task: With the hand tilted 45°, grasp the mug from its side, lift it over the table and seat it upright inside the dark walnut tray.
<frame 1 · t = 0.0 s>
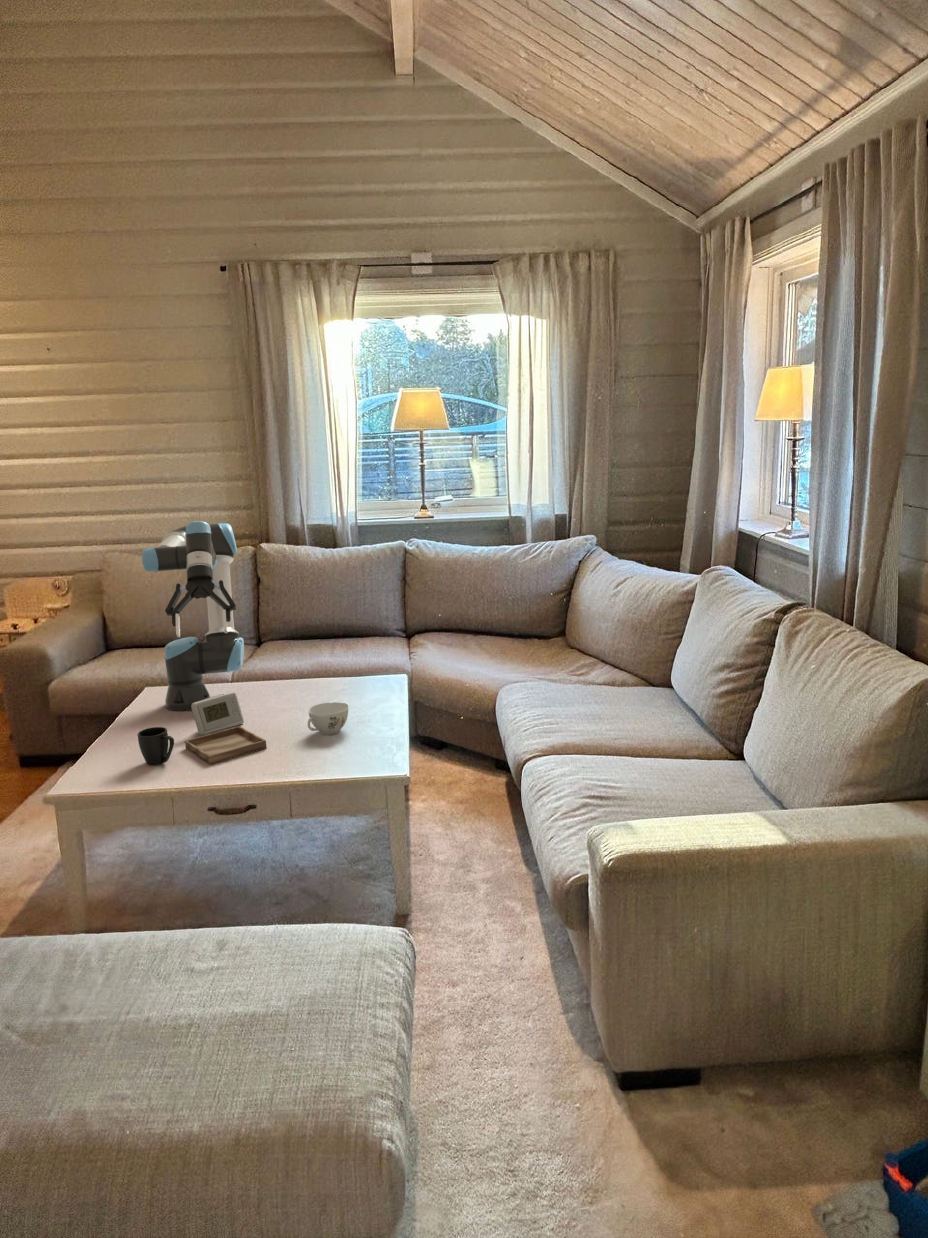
hand: (202, 633, 262), 36 cm above the table, tool tilted 35°, fingers open, 13 cm apart
teacup: (327, 733, 279), on the table
digital clock: (219, 729, 287), on the table
mug: (160, 763, 260), on the table
walnut tray: (225, 748, 269), on the table
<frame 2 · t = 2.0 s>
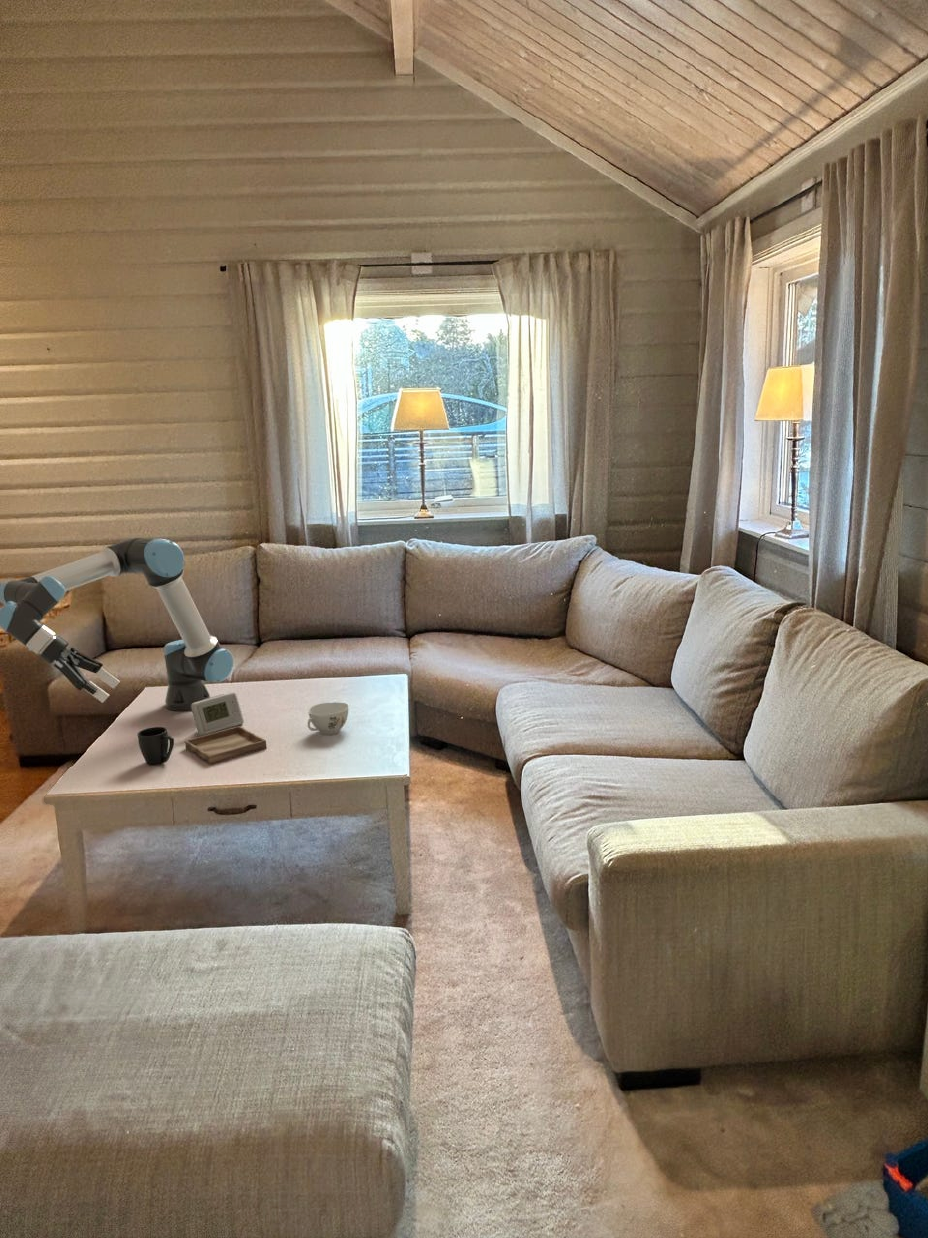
hand: (111, 691, 253), 23 cm above the table, tool tilted 45°, fingers open, 13 cm apart
nothing on the table moved.
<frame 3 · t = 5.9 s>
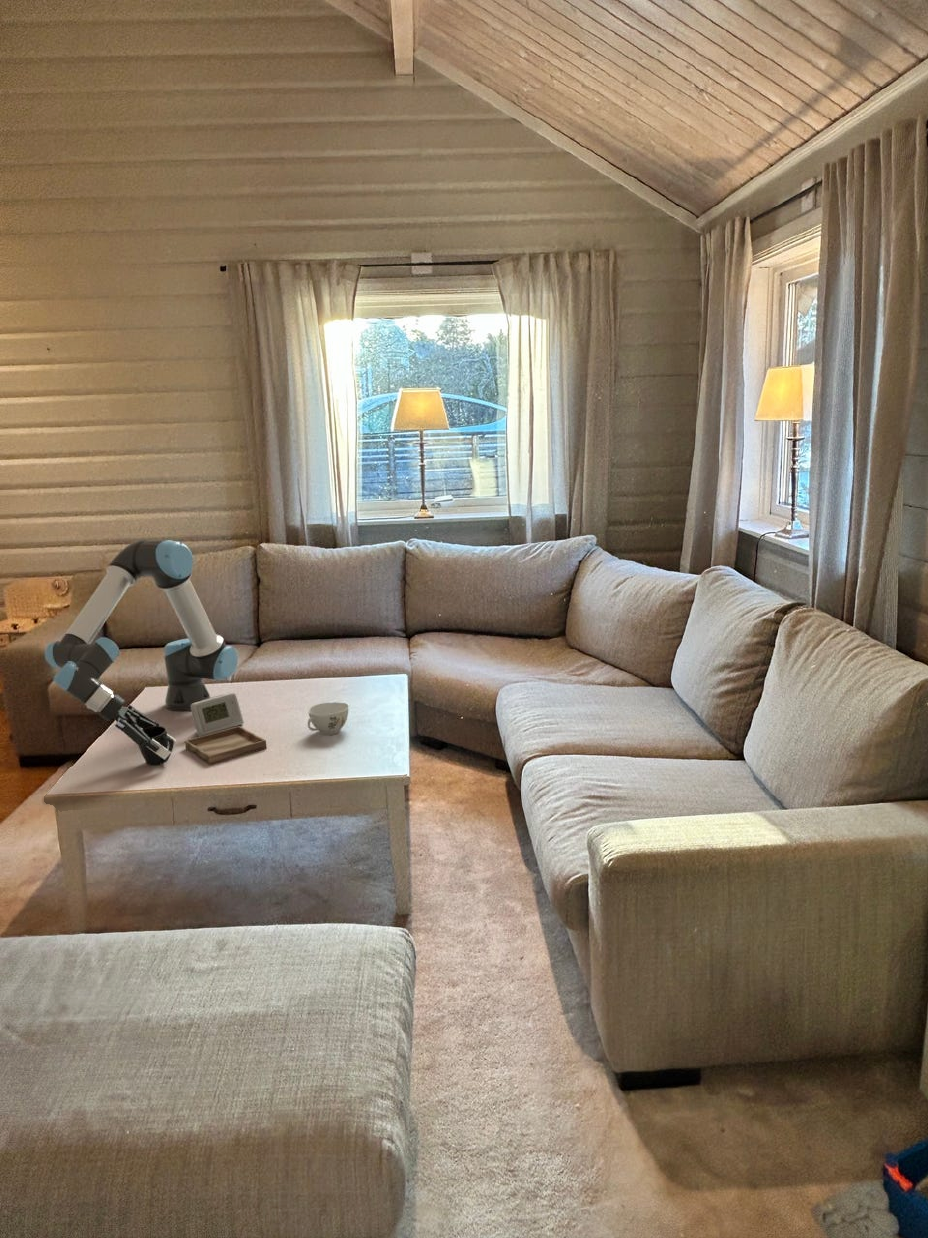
hand: (170, 749, 260), 4 cm above the table, tool tilted 45°, fingers closed on mug, 9 cm apart
mug: (160, 763, 260), on the table, touching gripper
everything else where it was.
when the fingers open (6 cm above the table, at t = 12.2 s): mug drops 1 cm, resting on walnut tray.
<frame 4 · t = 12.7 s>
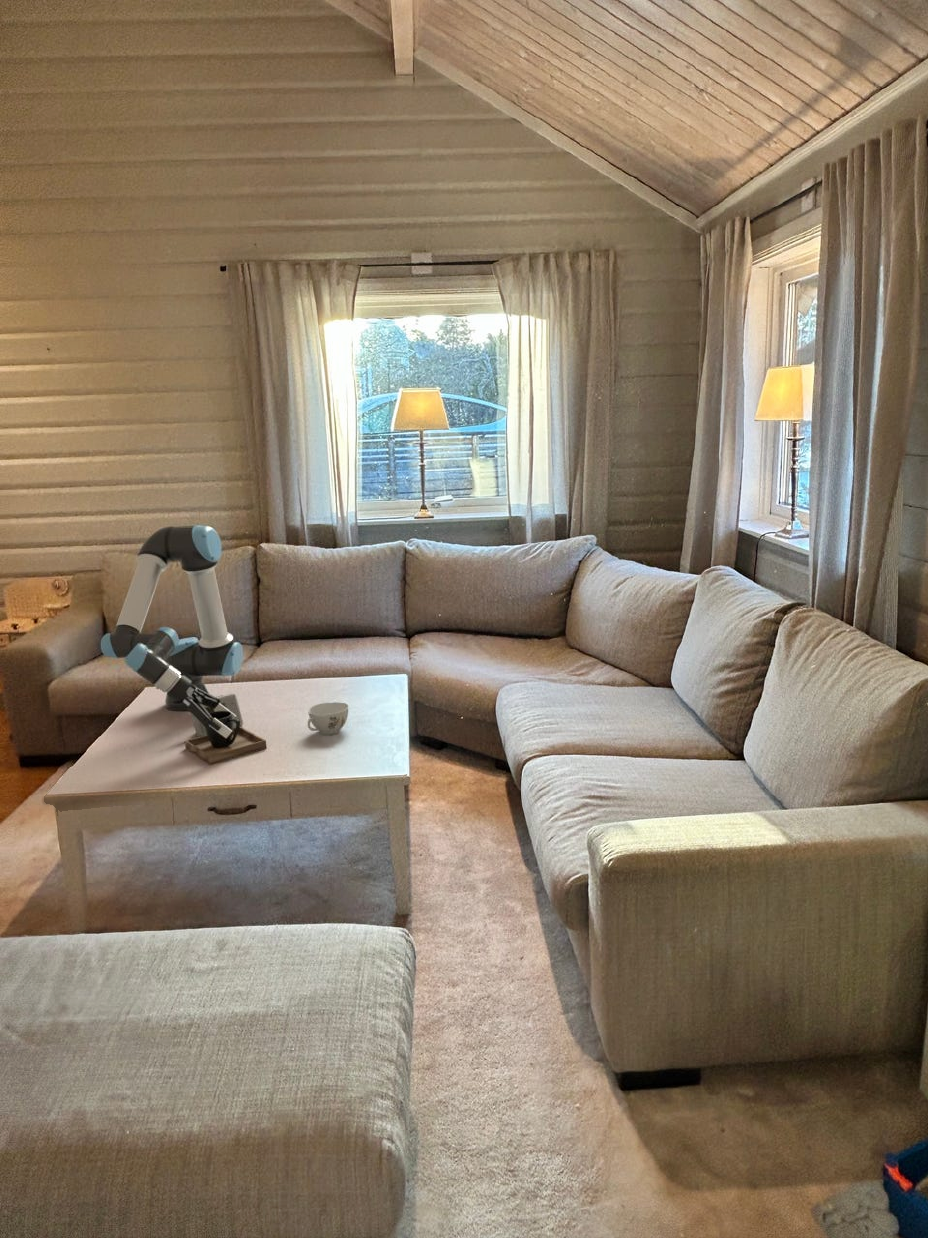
hand: (231, 726, 268), 7 cm above the table, tool tilted 45°, fingers open, 13 cm apart
mug: (226, 746, 270), point 1 cm above the table, touching walnut tray
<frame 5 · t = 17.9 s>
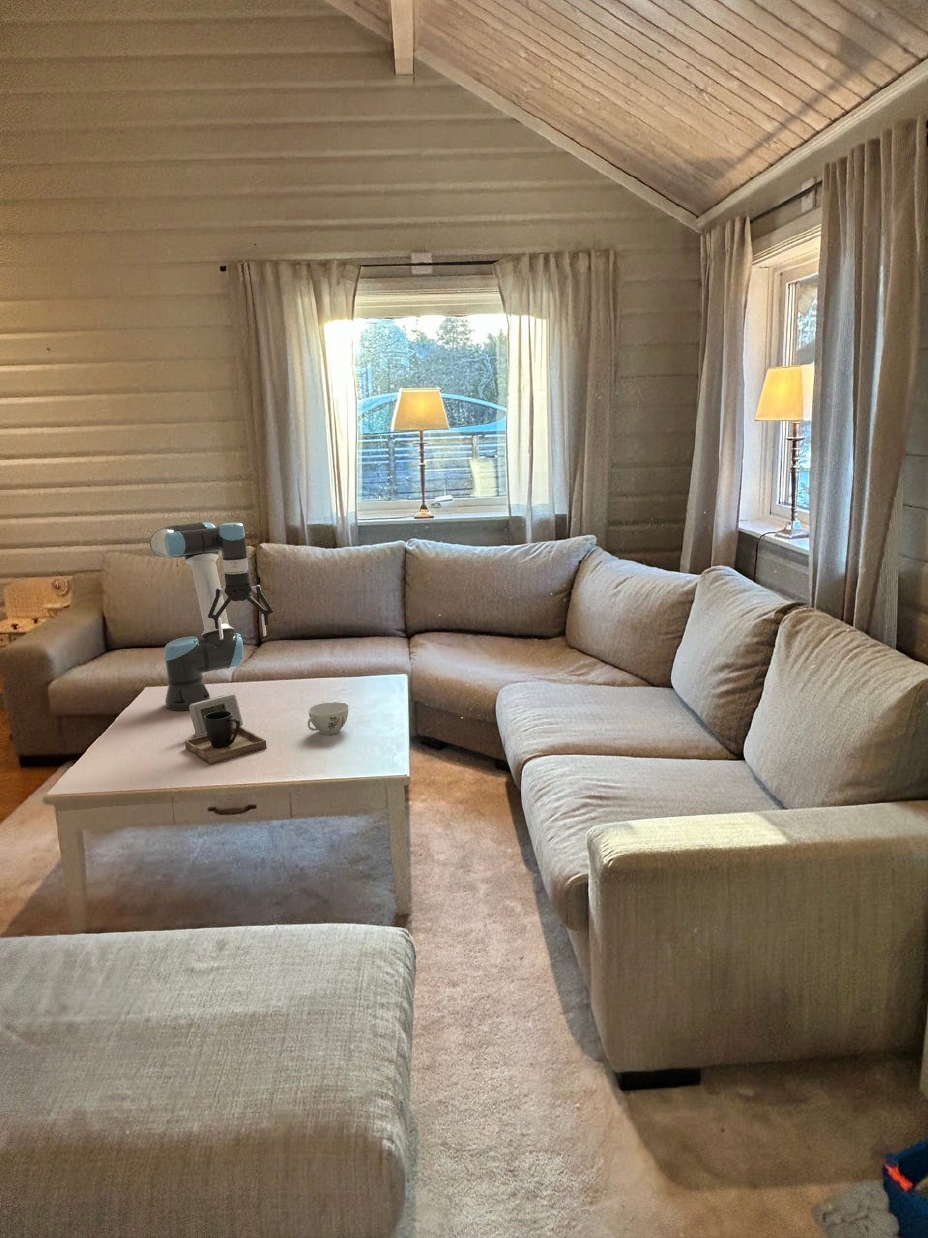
hand: (243, 636, 286), 29 cm above the table, tool pointing down, fingers open, 13 cm apart
at the end: mug inside the target area on the walnut tray (0.2 cm from its centre), point 0.6 cm above the walnut tray's base; mug tilted 0°; the gripper is holding nothing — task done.
